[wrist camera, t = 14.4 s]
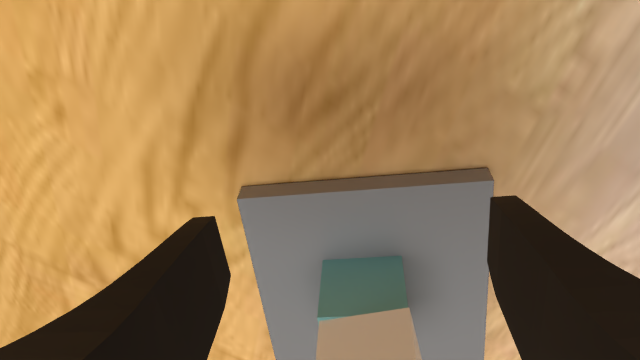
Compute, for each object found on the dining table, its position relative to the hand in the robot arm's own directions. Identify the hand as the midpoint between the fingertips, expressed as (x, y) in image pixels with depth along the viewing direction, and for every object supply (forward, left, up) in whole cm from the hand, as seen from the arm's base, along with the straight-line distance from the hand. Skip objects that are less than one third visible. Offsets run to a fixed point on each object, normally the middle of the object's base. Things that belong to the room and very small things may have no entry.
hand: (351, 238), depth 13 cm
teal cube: (0, +10, -9) cm, 14 cm away
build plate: (0, +10, -10) cm, 14 cm away
